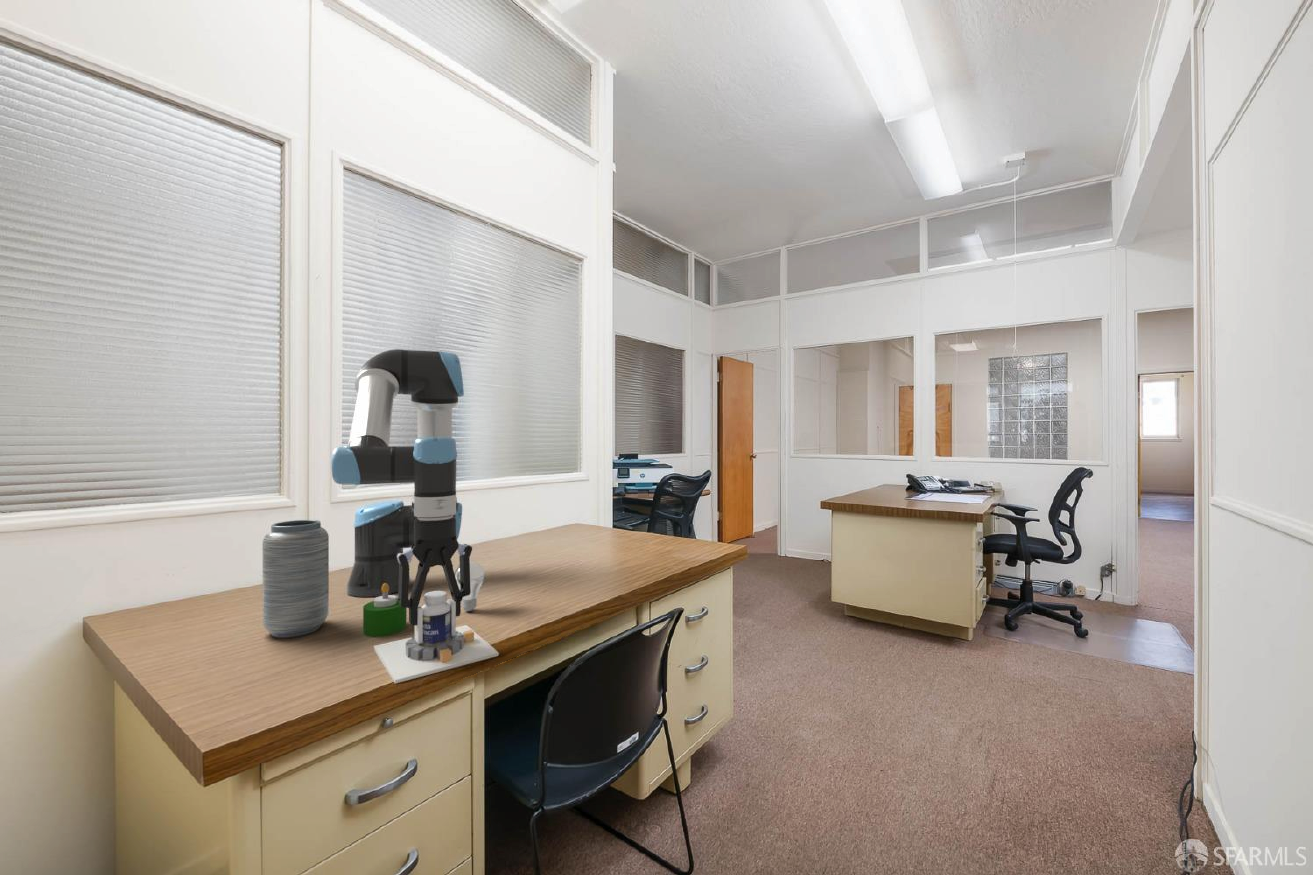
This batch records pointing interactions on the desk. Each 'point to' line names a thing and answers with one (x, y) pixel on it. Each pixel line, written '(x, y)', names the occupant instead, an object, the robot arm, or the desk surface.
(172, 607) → the desk surface
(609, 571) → the desk surface
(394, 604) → the candle
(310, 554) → the vase
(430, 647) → the socket
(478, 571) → the light bulb
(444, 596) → the pill bottle
